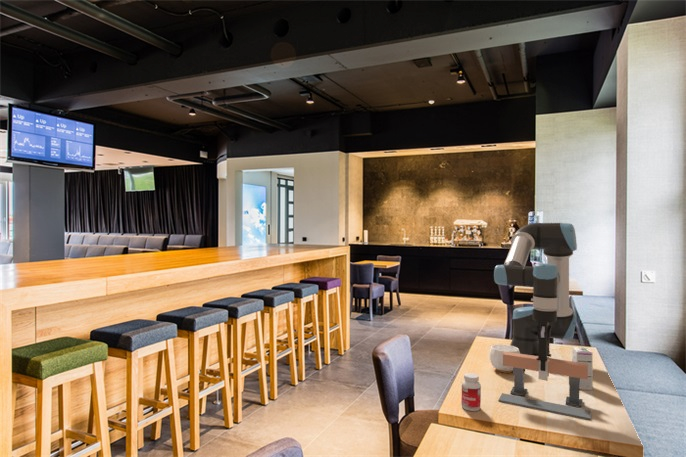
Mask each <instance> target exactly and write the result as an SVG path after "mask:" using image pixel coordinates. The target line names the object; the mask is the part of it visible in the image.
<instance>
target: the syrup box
mask: <svg viewBox="0 0 686 457" xmlns="http://www.w3.org/2000/svg"><path fill="white" fill-rule="evenodd" d="M571 351H572V352H571V354H572V356H571V358H572V359H571V361H573V362H580V363H586V364H588V379H582V378H580V386H579V390H583V391H584V390H586V391H588V390H589V391H592V390H593V385H594V384H593V383H594V382H593V380H594V378H593V377H594V375H593V373H594V371H593V365H594V364H593V352H592V351H591V350H590V349H588V348H586V347H580V346H579V347H576V346H575V347H572V349H571Z"/></svg>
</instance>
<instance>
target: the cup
mask: <svg viewBox="0 0 686 457" xmlns="http://www.w3.org/2000/svg"><path fill="white" fill-rule="evenodd" d="M505 351H506V352H512V353H519V354H520V351H519V349H518V348H517V347H514V346H511V345H510V344H502V343H501V344H500V343H498V344H497V343H496V344H492V345H491V346H490V349H489V360H490V363H491V365H492V366H493V368H495V369H496V370H497V371H498V372H500V373H506V374H510V373H511V372H512V373H513V367H509V366H503V353H504V352H505Z"/></svg>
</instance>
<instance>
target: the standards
mask: <svg viewBox="0 0 686 457" xmlns="http://www.w3.org/2000/svg"><path fill="white" fill-rule="evenodd" d="M525 373H526V369H521V368H515V367H513V371H512V375H513V377H514V378H513V379H514V381H513V382H514V383H513V386H512V389H511V390H510V395H514V396H520V397H525V398H526V396H527V394H528V388H525ZM568 385H569V392H568V394H569V395H568V396H566V398H565V405H566V406H571V407H576V408H581V409H583V399H582V398H580V389H579V386H580V378H576V377H569V376H568Z"/></svg>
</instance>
